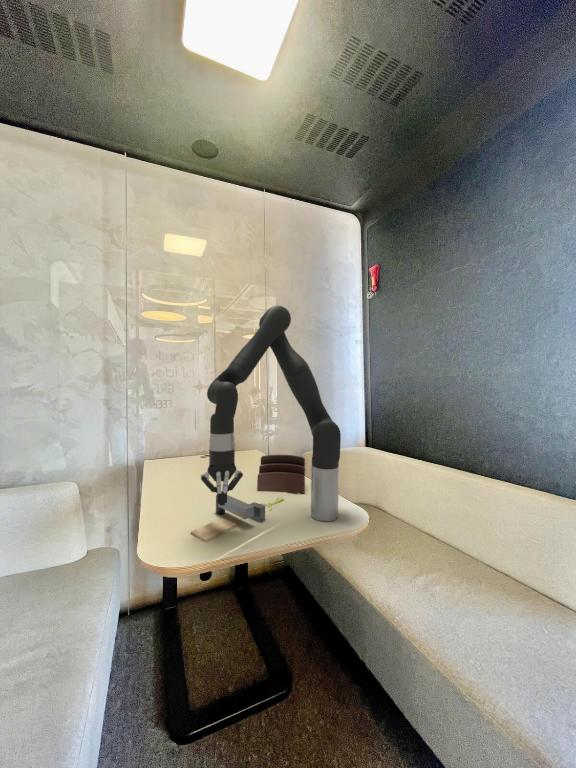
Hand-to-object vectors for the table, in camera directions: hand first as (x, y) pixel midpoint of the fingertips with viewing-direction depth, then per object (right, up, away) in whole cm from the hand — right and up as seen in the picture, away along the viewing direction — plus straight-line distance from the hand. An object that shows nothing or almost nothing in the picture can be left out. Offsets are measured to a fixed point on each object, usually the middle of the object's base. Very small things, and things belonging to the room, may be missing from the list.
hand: (221, 504), depth 90 cm
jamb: (+2, -8, +9) cm, 13 cm away
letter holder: (+17, -9, +38) cm, 42 cm away
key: (+13, -9, +19) cm, 25 cm away
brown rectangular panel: (-2, -8, 0) cm, 8 cm away
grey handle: (+2, -8, +7) cm, 11 cm away
